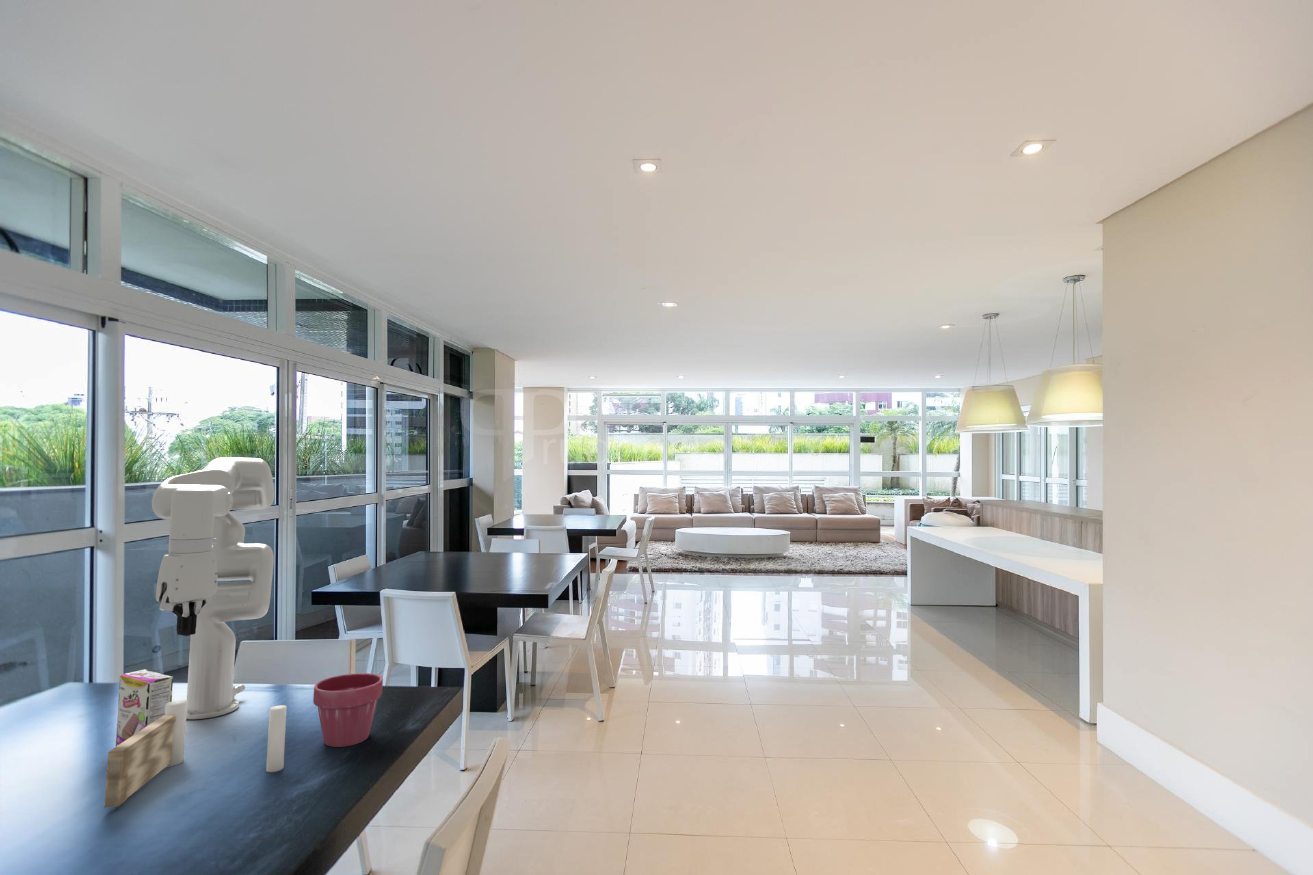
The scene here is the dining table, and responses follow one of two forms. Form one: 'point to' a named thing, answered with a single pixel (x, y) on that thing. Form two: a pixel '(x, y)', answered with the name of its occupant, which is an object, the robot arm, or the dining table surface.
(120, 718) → the candy bar box
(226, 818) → the dining table surface
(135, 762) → the gate
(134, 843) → the dining table surface
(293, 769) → the dining table surface
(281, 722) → the gate posts
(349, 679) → the plant pot
